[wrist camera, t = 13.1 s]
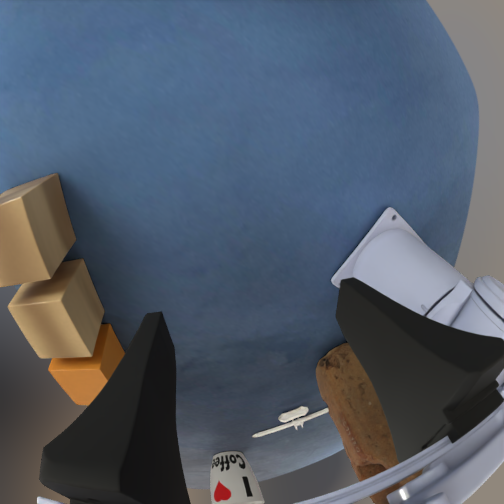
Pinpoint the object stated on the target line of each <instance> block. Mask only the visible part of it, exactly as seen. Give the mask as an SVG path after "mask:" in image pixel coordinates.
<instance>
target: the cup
mask: <svg viewBox="0 0 504 504" xmlns="http://www.w3.org/2000/svg"><path fill="white" fill-rule="evenodd" d="M210 490H211V500H212V504H263V503H264V499H263V496H262V494H261V491H260V488H259V485H258V482H257V479H256V477H255V475H254V473H253V471H252V469H251V466H250V464H249V463H248V461H247V460H246V458H245V457H244V455H243V453H241V452H238V451H228V452H222V453H218V454H216V455H214V456H213V461H212V466H211V476H210Z"/></svg>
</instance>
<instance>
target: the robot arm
mask: <svg viewBox="0 0 504 504" xmlns="http://www.w3.org/2000/svg"><path fill="white" fill-rule="evenodd" d="M393 215H394V217H393ZM392 217H393V218H392ZM331 282H332V283H333V285H335V286H336V287H338V288H340V290H339V297H338V304H337V310H336V319H337V321H338V324H339V326H340V328H341V331H342V333H343V335H344V337H345V339H346V340H347V342H348V344H349V345H350V347H351V349H352V350H353V352H354V354H355V355H356V357H357V359H358V360H359V362H360V363H361V365H362V367H363V368H364V370H365V372H366V373H367V375H368V377H369V379H370V381H371V383H372V385H373V387H374V389H375V392H376V394H377V396H378V399H379V401H380V404H381V406H382V409H383V411H384V414H385V417H386V420H387V423H388V426H389V429H390V432H391V436H392V439H393V443H394V447H395V451H396V455H397V460H398V462H399V464H398V465H396V466H394V467H392V468H390V469H388V470H386V471H383V472H381V473H379V474H377V475H375V476H373V477H370V478H368V479H366V480H363V481H361V482H358V483H356V484H353V485H351V486H348V487H346V488H343V489H340V490H337V491H334V492H331V493H329V494H325V495H323V496H319V497H316V498H313V499H309V500H306V501H302V502H298V503H295V504H352V503H355V502H357V501H360V500H362V499H364V498H367V497H369V496H371V495H374V494H376V493H378V492H380V491H382V490H384V489H387V488H389V487H391V486H393V485H395V484H397V483H399V482H400V481H402V480H404V479H406V478H408V477H410V476H411V475H413V474H415V473H417V472H419V471H420V470H422V469H423V471H422V475H420V476H418V477H417V478H415V479H413V480H412V481H410V482H408V483H406V484H405V485H404V486H402V487H401V488H399V489H397V490H396V491H394V492H392V493H390V494H388V495H387V499H388V501H389V504H462V503H463V502H464V501H465V500H466V499H468V498H469V497H470V496H471V495H472V494H473V493H474V492H475V491H476V490H477V489H478V488H479V487H480V486H481V485H482V484H483V483H484V482H485V481H486V480H487V479H488V478H489V477H490V476H491V475H492V474H493V473H494V472H495V471H496V470H497V468H498V467H499V466H500V465H501V464H502V463H503V462H504V284H503V283H501V282H500V281H498V280H497V279H495V278H493V277H492V276H489V275H488V276H484V277H478V278H477V279H476V281H475V282H474V283H471V282H470V281H469V280H468V279H467V278H465V277H464V276H463V275H462V274H461V273H460V272H459V271H457V270H456V269H455V268H454V267H453V266H451V265H450V264H449V263H448V262H447V261H445V260H444V259H443V258H442V257H440V256H439V255H438V254H437V253H435V252H434V251H433V250H432V249H430V248H429V247H428V246H427V245H426V244H425V243H424V242H423V241H422V239H421V238H420V237H419V236H418V235H417V234H416V233H415V231H414V230H413V229H412V228H411V227H410V226H409V225H408V224H407V223H406V221H405V220H404V219H403V218H402V217H401V216H400V215H399V214H398V213H397V212H396V211H395V210H394V209H393V208H391V207H389V208H387V209H386V210H385V211H384V213H383V214H382V215H381V217H380V218H379V219H378V221H377V222H376V223H375V225H374V226H373V227H372V229H371V230H370V231H369V232H368V234H367V235H366V236H365V238H364V239H363V240H362V241H361V243H360V244H359V245H358V246H357V248H356V249H355V250H354V251H353V253H352V254H351V255H350V256H349V258H348V259H347V260H346V261H345V263H344V264H343V265H342V266H341V267H340V269H339V270H338V271H337V272H336V273H335V275H334V276H333V277H332V279H331ZM39 480H40V482H41V483H42V484H43V485H44V486H46V487H48V488H49V489H51V490H53V491H55V492H57V493H59V494H61V495H63V496H65V497H67V498H69V499H70V504H191V503H190V500H189V495H188V492H187V488H186V483H185V479H184V474H183V469H182V464H181V458H180V452H179V445H178V438H177V430H176V360H175V349H174V345H173V342H172V339H171V337H170V334H169V331H168V328H167V325H166V323H165V320H164V317H163V314H162V311H161V312H154V313H147V314H146V315H145V317H144V319H143V321H142V323H141V325H140V327H139V329H138V330H137V332H136V334H135V336H134V338H133V340H132V342H131V344H130V345H129V347H128V349H127V351H126V353H125V354H124V356H123V358H122V359H121V361H120V363H119V364H118V366H117V368H116V369H115V371H114V373H113V374H112V376H111V377H110V379H109V380H108V381H107V383H106V384H105V386H104V387H103V388H102V390H101V391H100V392H99V394H98V395H97V396H96V397H95V399H94V400H93V401H92V402H91V403H90V405H89V406H88V407H87V408H86V409H85V410H84V412H83V413H82V414H81V415H80V416H79V417H78V418H77V419H76V420H75V421H74V422H73V423H72V424H71V425H70V426H69V427H68V428H67V429H65V430H64V432H62V433H61V434H60V435H58V436H57V437H56V438H55V439H54V440H52V441H51V442H50V443H49V444H47V445H46V446H45V447H44V448H43V453H42V459H41V467H40V477H39ZM37 504H65V503H61V502H57V501H54V500H50V499H47V498H43V497H40V496H39V497H37Z"/></svg>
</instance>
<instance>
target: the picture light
mask: <svg viewBox="0 0 504 504" xmlns="http://www.w3.org/2000/svg"><path fill="white" fill-rule="evenodd" d="M307 412H308V408H307V407H303V406H301V407H299V408H298V409H295V410H292V411H290V412H287V413H282V414H281V416H279V418H278V419H279V420H280V421H281V422H287V421H289V420H292V422H289V423H286V424H284V425H281V426H278V427H275V428H272V429H268V430H265V431H262V432H258V434H257V433H256V434H254V435H253V436H252V437H258V436H259V437H260V436H263V435H266V434H269V433H272V432H275V431H278V430H281V429H284V428H287V427H290V426H293V425H294V426H295V428H296V430H298V428H297V426H299V425H301V426H302V428H303V424H304V423H303V422H304V421H306V420H309V419H312V418H314V417H317V416H319V415H322V414H324V413H326V412H329V409H328V408H325V409H323V410H321V411H318V412H316V413H313V414H311V415H308V416H305V415H306V413H307ZM300 416H305V417H303V418H300V419H299V417H300ZM297 417H298V420H295V421H293V419H294V418H297Z"/></svg>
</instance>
